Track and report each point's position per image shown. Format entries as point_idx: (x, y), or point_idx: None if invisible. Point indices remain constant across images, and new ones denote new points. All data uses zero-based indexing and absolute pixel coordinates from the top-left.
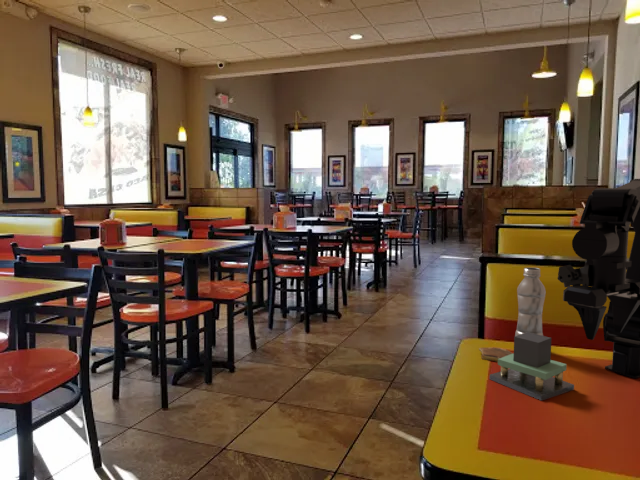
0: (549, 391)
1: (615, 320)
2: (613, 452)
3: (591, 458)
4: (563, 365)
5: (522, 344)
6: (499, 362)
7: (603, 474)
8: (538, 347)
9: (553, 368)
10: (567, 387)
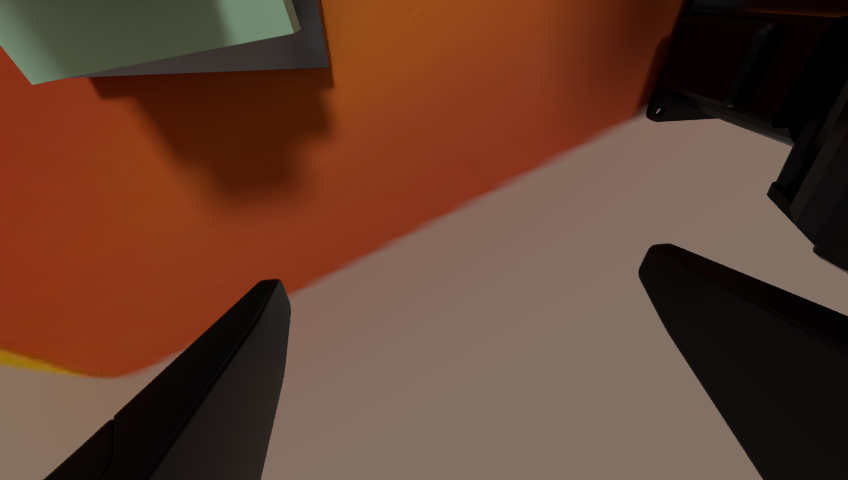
0: (142, 63)
1: (729, 312)
2: (133, 340)
3: (58, 341)
4: (254, 39)
5: None
6: None
7: (50, 372)
8: None
9: (142, 44)
10: (275, 69)
